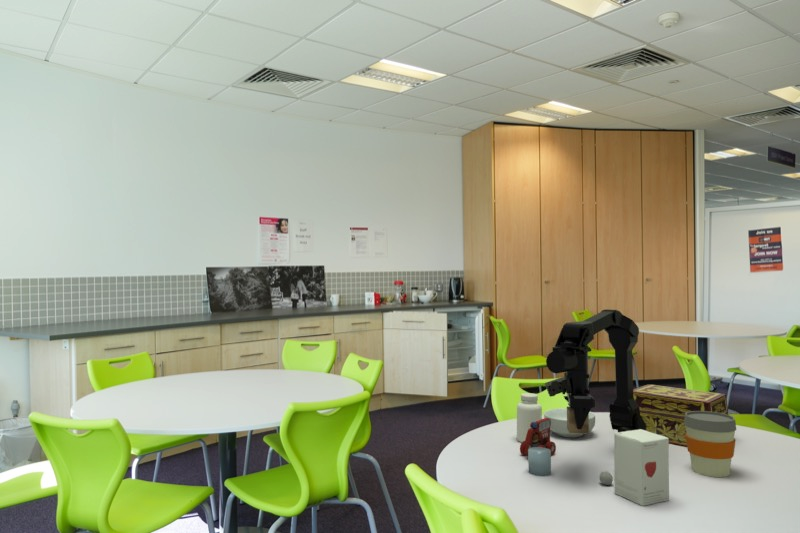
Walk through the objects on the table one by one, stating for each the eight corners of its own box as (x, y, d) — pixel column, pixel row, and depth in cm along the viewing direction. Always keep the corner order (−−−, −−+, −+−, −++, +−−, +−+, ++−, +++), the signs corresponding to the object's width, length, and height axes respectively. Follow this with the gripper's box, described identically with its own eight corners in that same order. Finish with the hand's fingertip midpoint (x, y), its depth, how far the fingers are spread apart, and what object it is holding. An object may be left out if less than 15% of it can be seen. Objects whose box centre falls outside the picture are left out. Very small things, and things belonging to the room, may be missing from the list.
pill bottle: (542, 445, 178) (542, 397, 179) (516, 443, 180) (516, 396, 180) (541, 438, 186) (541, 392, 186) (516, 436, 188) (516, 391, 188)
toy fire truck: (515, 457, 167) (515, 422, 167) (539, 448, 175) (538, 414, 176) (536, 462, 162) (535, 426, 162) (559, 453, 170) (558, 418, 170)
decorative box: (623, 435, 189) (622, 390, 190) (646, 424, 202) (645, 383, 202) (713, 453, 169) (712, 403, 170) (732, 440, 182) (731, 394, 183)
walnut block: (585, 428, 156) (585, 407, 156) (588, 433, 151) (588, 411, 151) (567, 428, 156) (566, 406, 156) (569, 433, 151) (569, 410, 152)
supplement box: (642, 507, 130) (641, 442, 130) (613, 493, 138) (612, 432, 139) (670, 500, 134) (669, 437, 134) (641, 487, 142) (640, 428, 142)
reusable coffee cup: (731, 466, 157) (730, 412, 157) (742, 481, 145) (741, 423, 146) (681, 461, 161) (680, 409, 162) (688, 476, 149) (687, 419, 150)
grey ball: (612, 482, 145) (612, 470, 145) (612, 487, 142) (612, 474, 142) (599, 481, 146) (599, 469, 146) (599, 485, 143) (599, 473, 143)
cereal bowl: (554, 425, 202) (554, 405, 202) (602, 432, 192) (601, 411, 193) (536, 436, 188) (536, 415, 189) (586, 444, 179) (586, 422, 179)
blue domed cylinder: (551, 469, 156) (551, 448, 156) (550, 477, 150) (549, 454, 150) (529, 467, 158) (529, 446, 158) (527, 474, 152) (527, 452, 152)
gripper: (543, 363, 164) (544, 417, 164) (550, 374, 146) (550, 434, 146) (583, 364, 162) (584, 418, 162) (594, 375, 144) (595, 436, 144)
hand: (577, 426), depth 153 cm, fingers closed on walnut block, 5 cm apart
